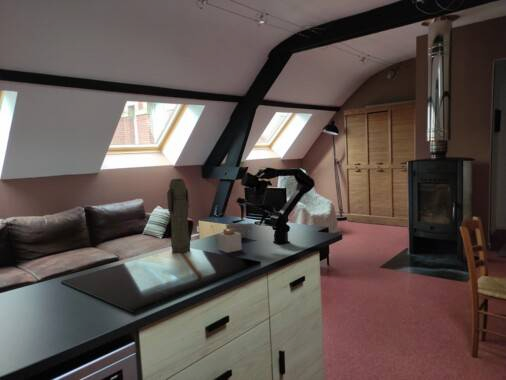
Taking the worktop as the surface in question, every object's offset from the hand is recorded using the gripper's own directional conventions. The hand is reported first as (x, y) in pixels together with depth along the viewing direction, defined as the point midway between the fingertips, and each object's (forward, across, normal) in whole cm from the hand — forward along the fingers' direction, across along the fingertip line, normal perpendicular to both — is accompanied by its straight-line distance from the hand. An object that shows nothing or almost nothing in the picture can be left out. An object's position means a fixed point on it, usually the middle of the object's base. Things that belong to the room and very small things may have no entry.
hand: (250, 222), depth 187 cm
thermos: (+23, -28, -4) cm, 36 cm away
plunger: (+13, -7, -1) cm, 14 cm away
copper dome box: (+15, -6, -1) cm, 16 cm away
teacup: (+10, -8, +23) cm, 27 cm away
